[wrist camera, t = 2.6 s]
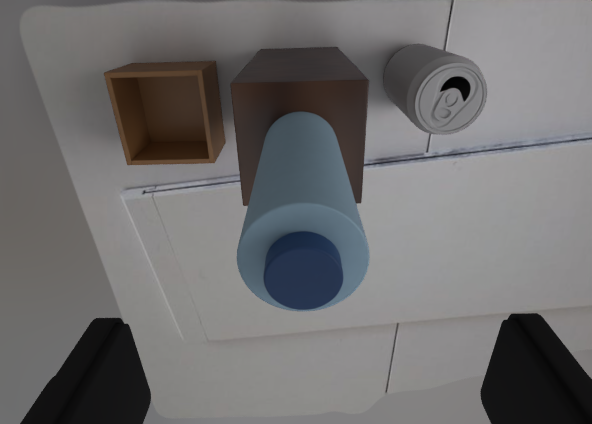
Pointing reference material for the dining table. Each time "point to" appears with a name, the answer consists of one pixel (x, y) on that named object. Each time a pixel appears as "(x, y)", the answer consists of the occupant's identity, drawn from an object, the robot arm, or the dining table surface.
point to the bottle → (302, 220)
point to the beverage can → (435, 88)
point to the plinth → (300, 104)
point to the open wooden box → (167, 112)
